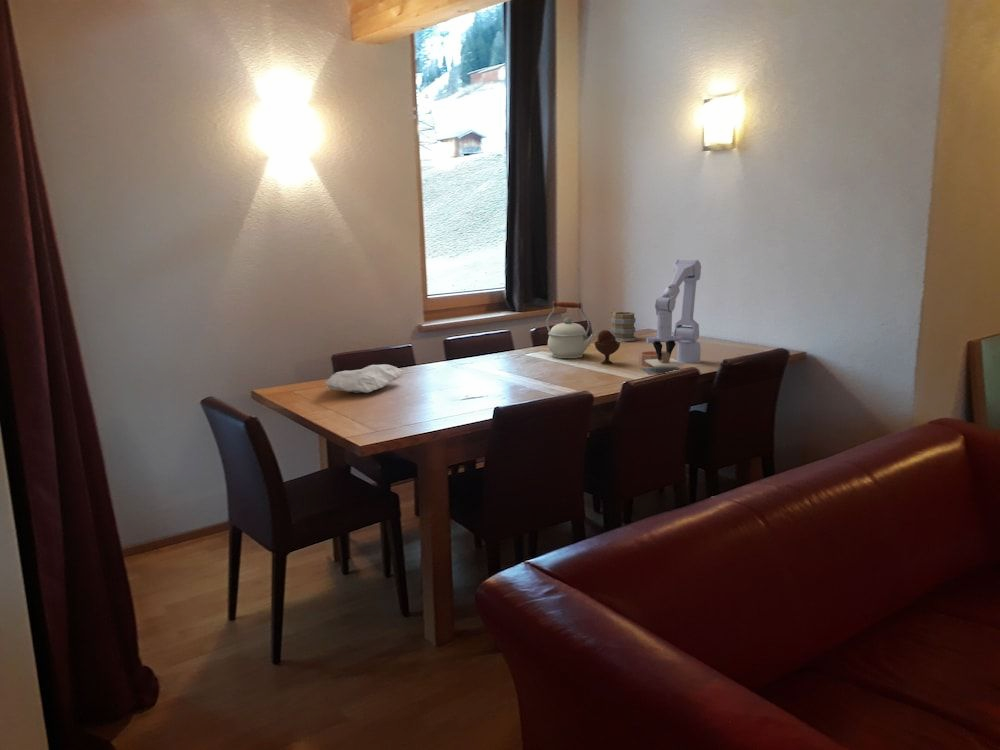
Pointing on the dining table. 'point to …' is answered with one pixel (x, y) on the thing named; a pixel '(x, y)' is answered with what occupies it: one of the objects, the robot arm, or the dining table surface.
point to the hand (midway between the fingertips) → (663, 359)
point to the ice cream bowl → (606, 345)
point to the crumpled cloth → (364, 378)
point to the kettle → (568, 335)
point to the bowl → (647, 357)
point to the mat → (659, 370)
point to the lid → (664, 361)
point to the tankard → (623, 326)
